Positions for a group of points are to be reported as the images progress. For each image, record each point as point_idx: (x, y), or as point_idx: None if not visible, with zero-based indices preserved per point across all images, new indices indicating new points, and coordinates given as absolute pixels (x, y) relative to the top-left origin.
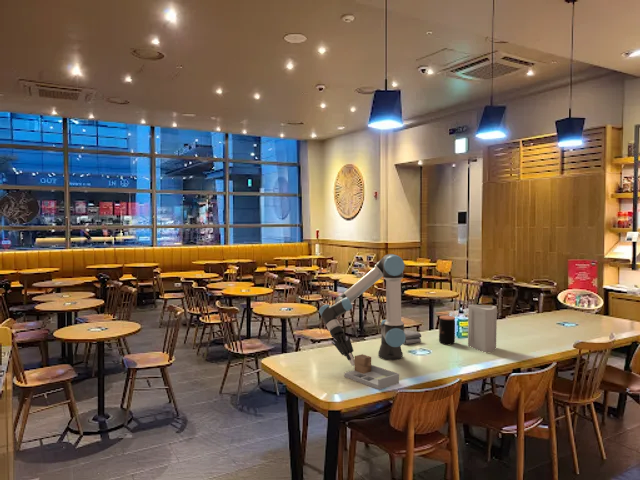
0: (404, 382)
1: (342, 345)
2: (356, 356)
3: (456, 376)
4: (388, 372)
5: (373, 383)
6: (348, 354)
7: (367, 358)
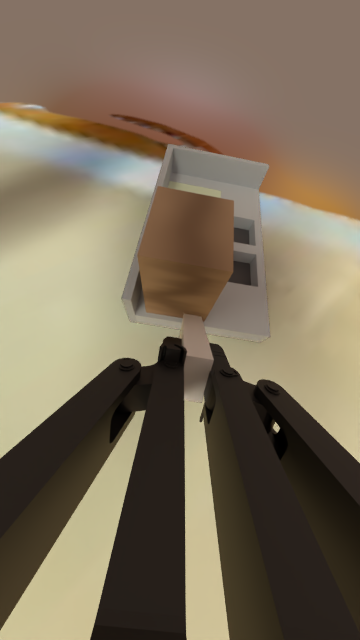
0: (148, 175)
1: (306, 534)
2: (228, 256)
3: (4, 109)
4: (166, 178)
5: (259, 202)
6: (212, 366)
7: (195, 196)
